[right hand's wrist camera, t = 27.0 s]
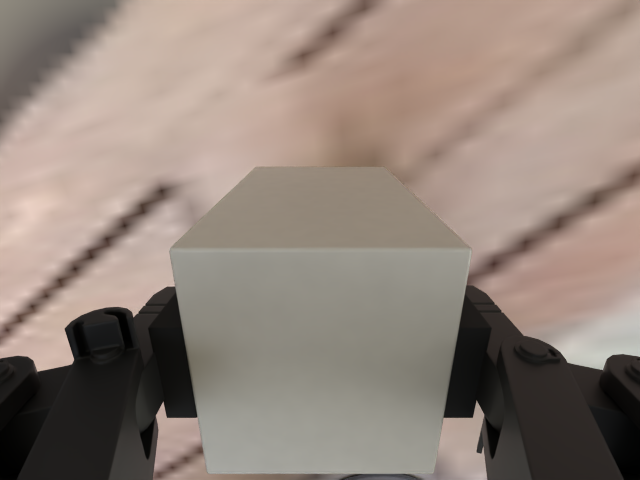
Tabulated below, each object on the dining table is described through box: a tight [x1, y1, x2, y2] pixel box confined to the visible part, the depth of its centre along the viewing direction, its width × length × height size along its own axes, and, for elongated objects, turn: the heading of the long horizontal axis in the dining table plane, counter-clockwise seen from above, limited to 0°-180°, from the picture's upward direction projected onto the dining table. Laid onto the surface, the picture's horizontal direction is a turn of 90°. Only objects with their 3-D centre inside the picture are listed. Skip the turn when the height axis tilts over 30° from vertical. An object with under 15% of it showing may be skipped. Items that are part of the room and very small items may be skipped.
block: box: [169, 167, 472, 474], centre depth 13 cm, size 7×6×10 cm
